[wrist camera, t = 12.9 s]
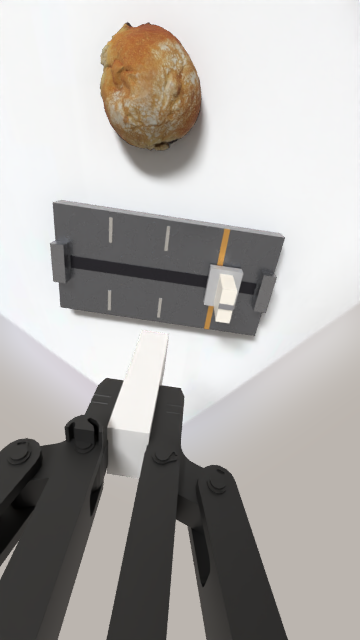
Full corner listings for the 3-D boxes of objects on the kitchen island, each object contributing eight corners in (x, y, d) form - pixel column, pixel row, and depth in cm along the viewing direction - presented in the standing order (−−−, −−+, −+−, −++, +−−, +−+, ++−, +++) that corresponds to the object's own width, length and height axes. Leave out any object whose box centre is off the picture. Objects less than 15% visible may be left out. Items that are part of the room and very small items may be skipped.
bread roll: (134, 152, 37) (137, 182, 32) (78, 56, 29) (70, 76, 24) (205, 107, 34) (221, 132, 29) (163, -11, 26) (174, -5, 21)
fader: (203, 300, 39) (204, 324, 33) (210, 264, 36) (212, 283, 30) (232, 304, 39) (238, 329, 33) (241, 269, 36) (249, 289, 30)
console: (67, 299, 43) (55, 311, 40) (61, 200, 36) (46, 204, 33) (251, 327, 43) (256, 341, 40) (279, 233, 37) (288, 240, 33)
